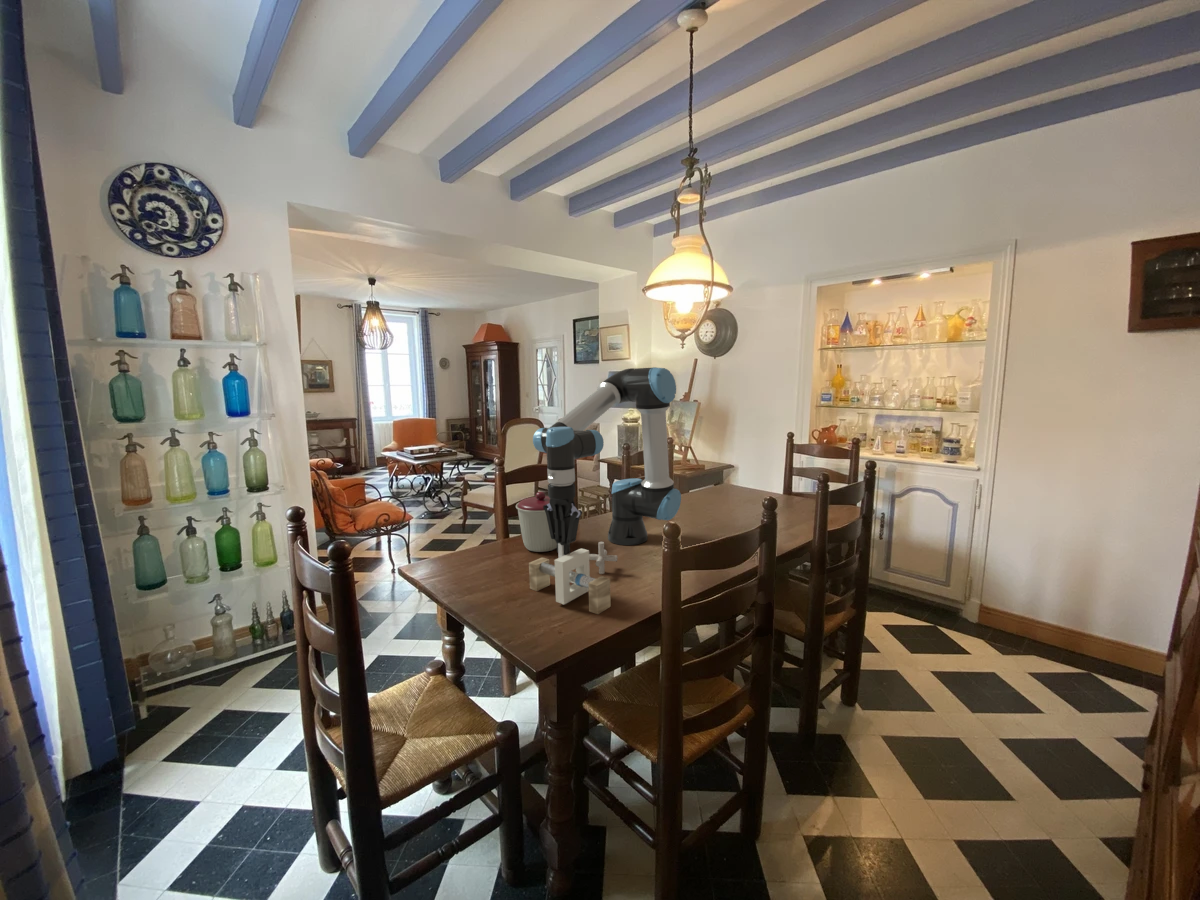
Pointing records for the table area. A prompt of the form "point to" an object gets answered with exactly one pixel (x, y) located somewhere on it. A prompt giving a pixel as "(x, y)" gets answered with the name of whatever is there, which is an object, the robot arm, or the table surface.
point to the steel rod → (573, 576)
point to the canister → (535, 523)
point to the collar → (562, 569)
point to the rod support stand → (597, 587)
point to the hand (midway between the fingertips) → (563, 564)
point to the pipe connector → (602, 557)
